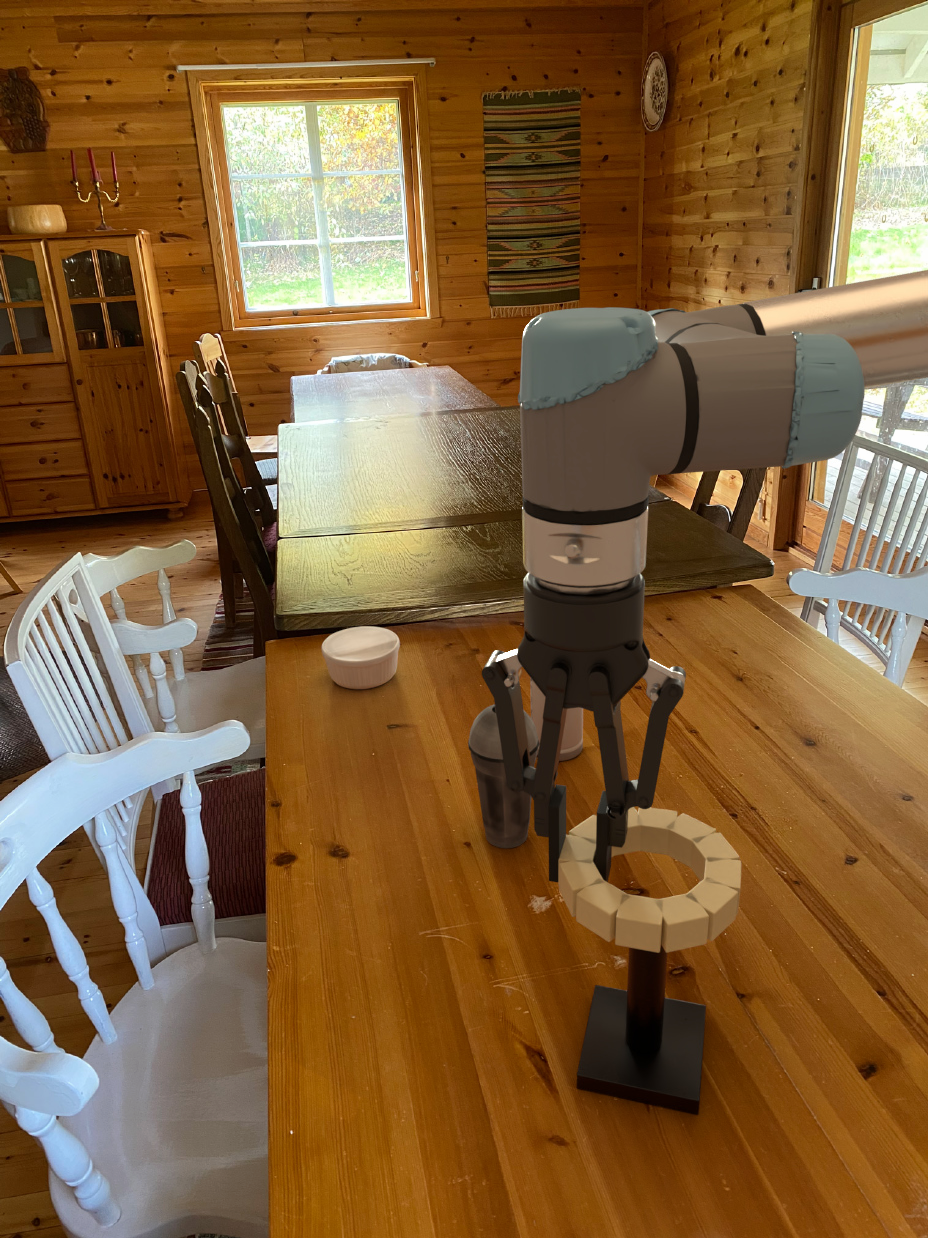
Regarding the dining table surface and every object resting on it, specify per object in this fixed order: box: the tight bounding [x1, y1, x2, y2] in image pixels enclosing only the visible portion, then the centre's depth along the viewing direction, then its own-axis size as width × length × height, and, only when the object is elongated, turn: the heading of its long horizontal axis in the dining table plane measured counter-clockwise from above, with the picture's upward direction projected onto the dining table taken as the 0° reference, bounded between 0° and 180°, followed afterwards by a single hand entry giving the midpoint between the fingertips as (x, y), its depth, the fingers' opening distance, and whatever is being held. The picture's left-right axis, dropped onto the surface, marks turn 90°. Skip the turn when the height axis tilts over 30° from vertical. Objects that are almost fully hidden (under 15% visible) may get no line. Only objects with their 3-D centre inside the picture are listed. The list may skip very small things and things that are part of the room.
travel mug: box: [529, 676, 584, 762], centre depth 108 cm, size 6×7×20 cm
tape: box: [557, 807, 742, 954], centre depth 65 cm, size 12×12×2 cm
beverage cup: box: [467, 703, 540, 849], centre depth 93 cm, size 7×7×20 cm
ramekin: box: [321, 625, 401, 690], centre depth 131 cm, size 11×11×5 cm
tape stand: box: [576, 945, 707, 1115], centre depth 69 cm, size 9×9×14 cm
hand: (580, 872), depth 66 cm, fingers closed on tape, 3 cm apart
